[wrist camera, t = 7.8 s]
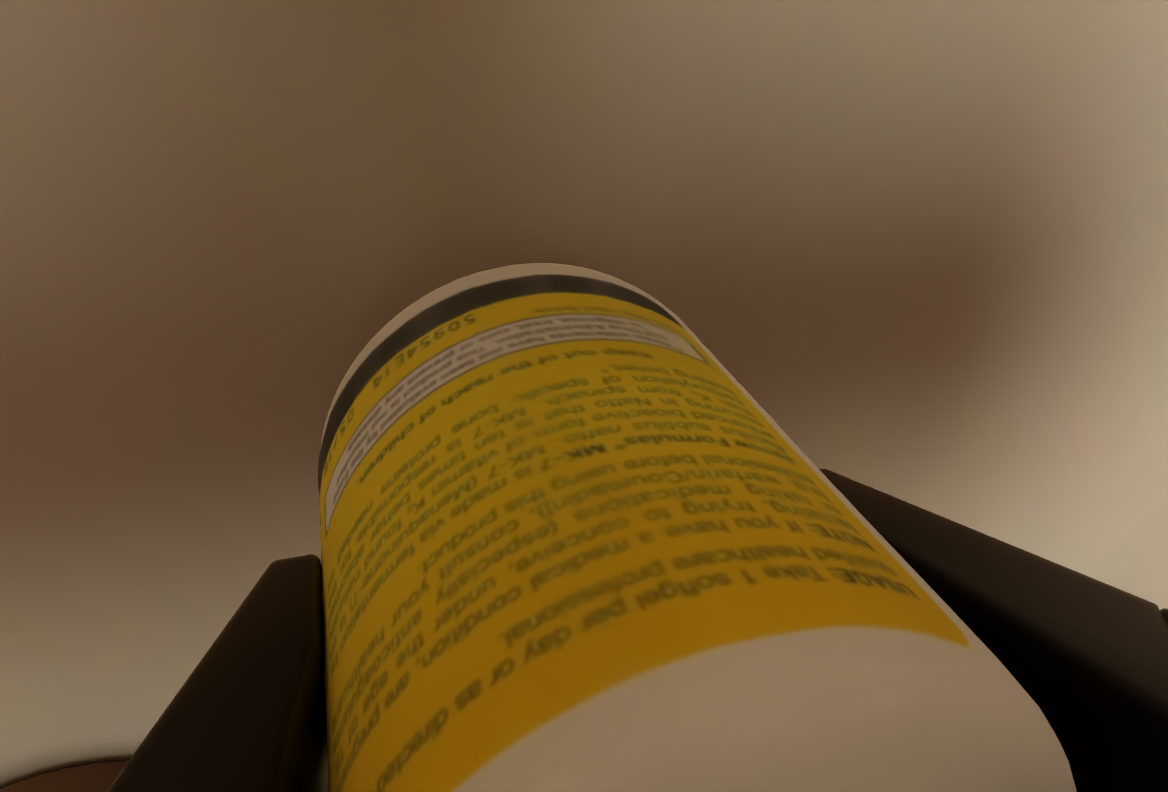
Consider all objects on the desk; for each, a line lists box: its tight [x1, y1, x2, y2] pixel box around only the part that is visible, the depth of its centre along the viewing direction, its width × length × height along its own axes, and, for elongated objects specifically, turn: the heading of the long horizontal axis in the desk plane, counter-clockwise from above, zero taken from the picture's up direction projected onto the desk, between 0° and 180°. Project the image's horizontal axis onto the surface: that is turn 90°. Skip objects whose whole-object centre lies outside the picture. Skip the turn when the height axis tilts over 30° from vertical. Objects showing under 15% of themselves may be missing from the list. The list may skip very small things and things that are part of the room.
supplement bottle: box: [318, 263, 1077, 792], centre depth 7 cm, size 5×5×8 cm
